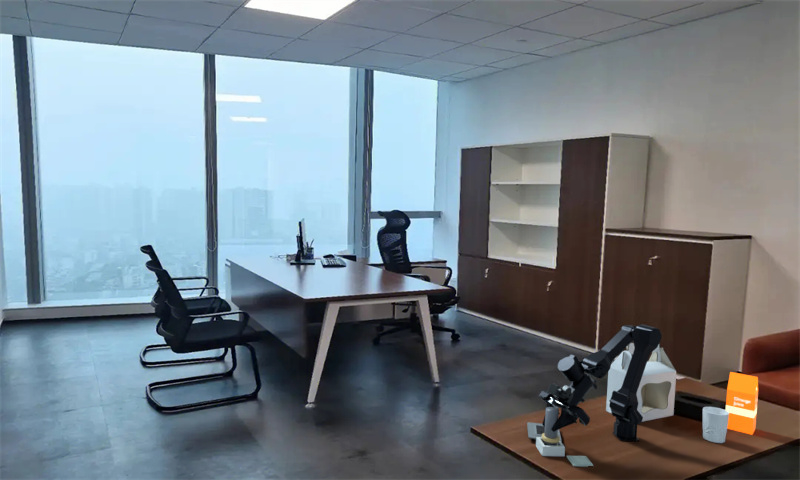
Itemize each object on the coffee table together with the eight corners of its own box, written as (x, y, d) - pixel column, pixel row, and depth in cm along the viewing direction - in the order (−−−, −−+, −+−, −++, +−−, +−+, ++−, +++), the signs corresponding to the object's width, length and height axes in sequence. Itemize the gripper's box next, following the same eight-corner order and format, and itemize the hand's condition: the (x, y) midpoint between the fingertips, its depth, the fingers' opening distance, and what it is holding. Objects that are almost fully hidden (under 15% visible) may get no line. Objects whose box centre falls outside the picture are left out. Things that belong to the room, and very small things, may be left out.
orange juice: (727, 422, 205) (731, 369, 204) (755, 428, 200) (759, 374, 198) (723, 428, 199) (727, 373, 198) (752, 435, 194) (756, 379, 192)
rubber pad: (585, 457, 171) (585, 455, 171) (593, 466, 165) (593, 464, 165) (566, 457, 170) (566, 455, 170) (573, 466, 164) (573, 464, 164)
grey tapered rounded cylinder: (556, 445, 177) (558, 406, 176) (561, 453, 172) (563, 412, 171) (538, 445, 177) (540, 405, 176) (544, 453, 171) (546, 412, 171)
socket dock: (557, 446, 178) (557, 437, 178) (564, 456, 171) (565, 447, 171) (535, 446, 178) (536, 437, 177) (542, 455, 171) (542, 446, 170)
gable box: (645, 404, 222) (649, 335, 220) (674, 415, 210) (679, 343, 209) (605, 411, 212) (609, 339, 210) (633, 423, 200) (638, 348, 199)
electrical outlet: (561, 446, 179) (561, 439, 179) (528, 443, 181) (528, 436, 181) (557, 431, 192) (558, 424, 192) (526, 427, 194) (527, 421, 194)
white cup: (724, 436, 191) (726, 408, 191) (729, 445, 184) (731, 416, 183) (698, 433, 194) (700, 405, 193) (703, 441, 186) (705, 412, 186)
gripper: (544, 366, 183) (515, 402, 179) (584, 383, 166) (553, 423, 162) (562, 387, 187) (534, 423, 183) (603, 405, 170) (573, 445, 166)
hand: (547, 428), depth 173 cm, fingers closed on grey tapered rounded cylinder, 4 cm apart
